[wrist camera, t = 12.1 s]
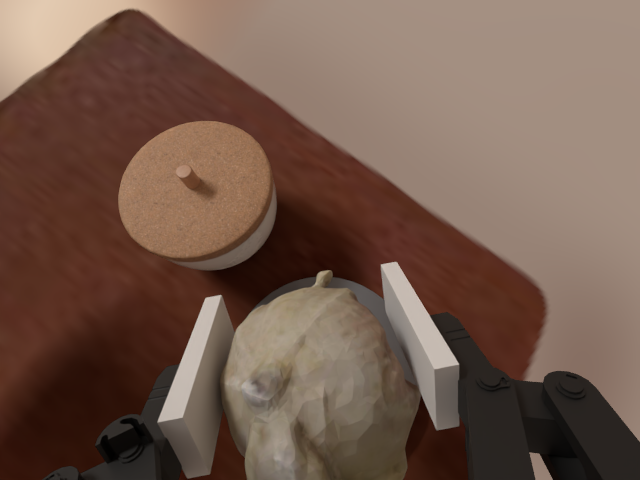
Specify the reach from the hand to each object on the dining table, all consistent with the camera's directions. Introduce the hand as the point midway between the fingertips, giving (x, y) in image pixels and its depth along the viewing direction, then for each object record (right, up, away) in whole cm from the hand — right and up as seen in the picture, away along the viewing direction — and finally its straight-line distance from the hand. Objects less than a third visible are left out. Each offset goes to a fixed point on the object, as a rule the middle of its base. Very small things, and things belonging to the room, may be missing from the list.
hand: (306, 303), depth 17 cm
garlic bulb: (+1, -4, +2) cm, 5 cm away
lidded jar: (-8, +4, +15) cm, 17 cm away
